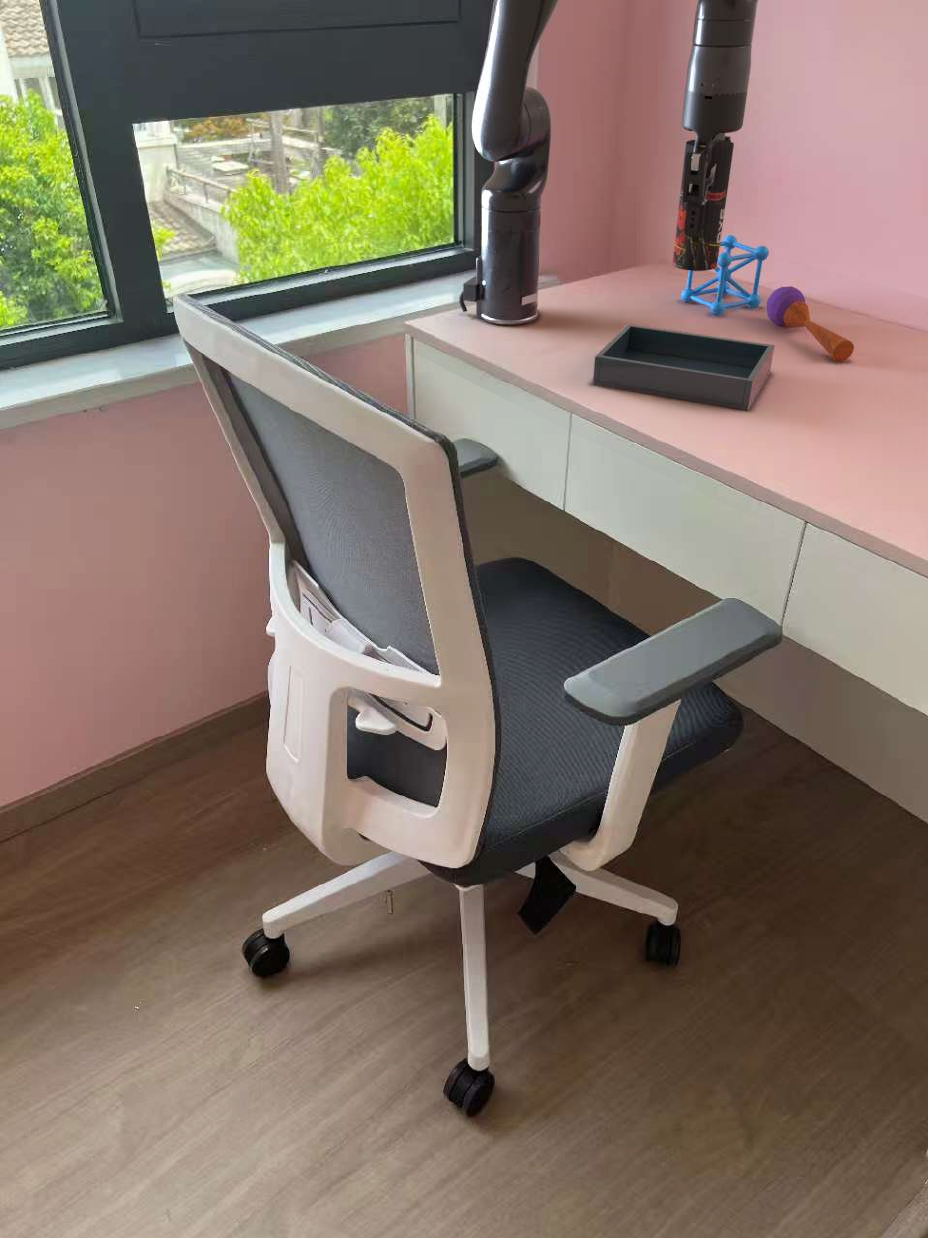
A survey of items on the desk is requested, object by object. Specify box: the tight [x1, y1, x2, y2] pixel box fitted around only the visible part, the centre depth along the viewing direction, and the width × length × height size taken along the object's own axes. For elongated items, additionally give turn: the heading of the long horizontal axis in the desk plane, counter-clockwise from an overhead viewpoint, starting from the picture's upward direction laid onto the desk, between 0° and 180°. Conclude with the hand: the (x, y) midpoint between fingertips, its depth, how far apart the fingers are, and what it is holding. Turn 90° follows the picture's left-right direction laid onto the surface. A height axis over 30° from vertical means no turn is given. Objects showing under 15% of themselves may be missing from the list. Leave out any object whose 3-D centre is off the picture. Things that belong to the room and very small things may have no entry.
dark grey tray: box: [592, 324, 776, 411], centre depth 138 cm, size 22×15×4 cm
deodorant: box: [672, 139, 735, 272], centre depth 129 cm, size 6×6×15 cm
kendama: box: [765, 285, 855, 363], centre depth 150 cm, size 6×6×20 cm
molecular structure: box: [680, 234, 770, 316], centre depth 163 cm, size 10×10×10 cm
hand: (698, 228), depth 130 cm, fingers closed on deodorant, 6 cm apart
